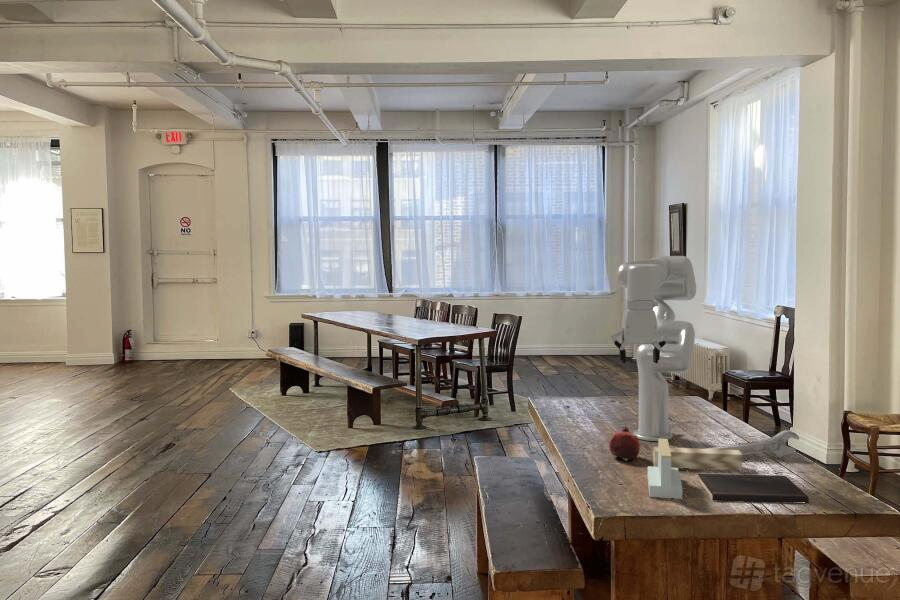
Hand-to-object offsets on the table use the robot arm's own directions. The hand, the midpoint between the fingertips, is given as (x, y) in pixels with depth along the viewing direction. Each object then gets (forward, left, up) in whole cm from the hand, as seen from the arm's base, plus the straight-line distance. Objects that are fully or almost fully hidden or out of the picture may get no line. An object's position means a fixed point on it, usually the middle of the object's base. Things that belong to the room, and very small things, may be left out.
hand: (639, 362), depth 211 cm
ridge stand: (+15, +23, -29) cm, 40 cm away
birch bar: (-7, +16, -29) cm, 34 cm away
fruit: (+5, -1, -29) cm, 29 cm away
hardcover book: (-2, +37, -30) cm, 48 cm away
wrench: (-26, +19, -29) cm, 44 cm away
